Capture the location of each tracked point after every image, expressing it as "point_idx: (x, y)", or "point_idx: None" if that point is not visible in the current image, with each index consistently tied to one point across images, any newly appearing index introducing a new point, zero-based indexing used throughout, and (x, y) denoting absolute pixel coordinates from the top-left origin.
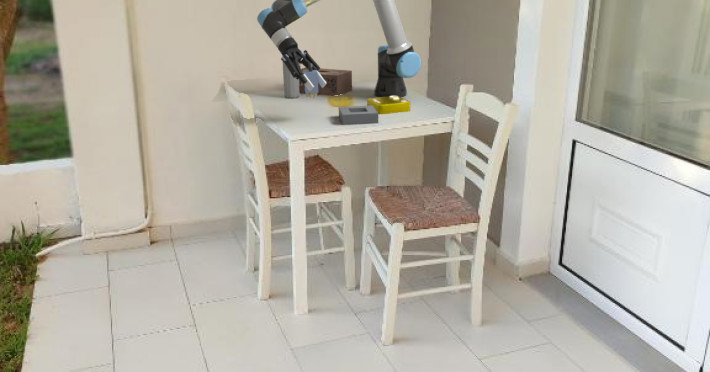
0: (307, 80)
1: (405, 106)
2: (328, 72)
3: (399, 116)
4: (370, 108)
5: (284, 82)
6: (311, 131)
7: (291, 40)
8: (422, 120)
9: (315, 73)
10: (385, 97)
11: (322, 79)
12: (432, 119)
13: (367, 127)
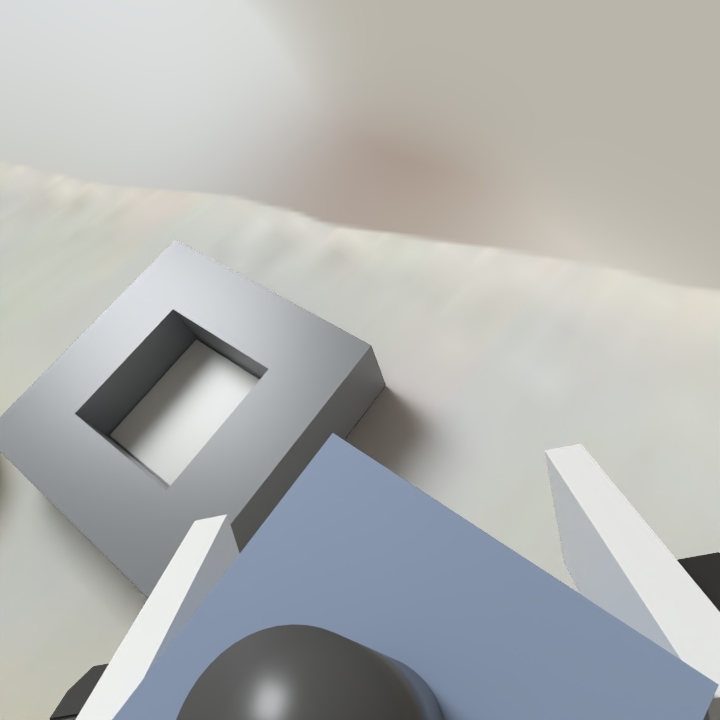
0: (652, 547)
1: None
2: None
3: (6, 321)
4: (82, 366)
5: None
6: (704, 392)
7: None
8: (40, 198)
9: (387, 477)
10: None
11: (199, 573)
12: (3, 187)
13: (325, 248)
